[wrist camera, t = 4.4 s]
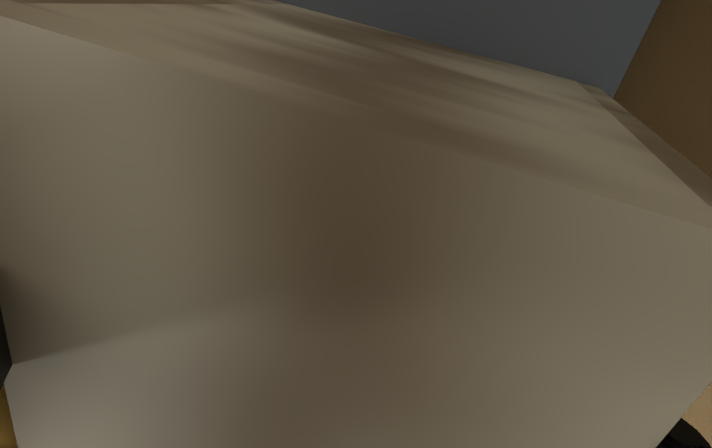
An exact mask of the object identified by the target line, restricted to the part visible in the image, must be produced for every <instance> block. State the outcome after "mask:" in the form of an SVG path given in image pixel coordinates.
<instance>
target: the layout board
mask: <svg viewBox="0 0 712 448" xmlns="http://www.w3.org/2000/svg"><path fill="white" fill-rule="evenodd" d="M275 1H279V2H282V3H286V4H290V5H294V6H297V7H301V8H305V9H309V10H312V11H316V12H320V13H323V14H327V15H331V16H335V17H338V18H342V19H346V20H350V21H353V22H357V23H361V24H365V25H368V26H372V27H376V28H379V29H383V30H387V31H391V32H394V33H398V34H402V35H406V36H409V37H413V38H417V39H420V40H424V41H428V42H432V43H435V44H439V45H443V46H447V47H450V48H454V49H458V50H462V51H465V52H469V53H473V54H476V55H480V56H484V57H488V58H491V59H495V60H499V61H503V62H506V63H510V64H514V65H518V66H521V67H525V68H529V69H532V70H536V71H540V72H544V73H547V74H551V75H555V76H559V77H562V78H566V79H570V80H574V81H577V82H581V83H585V84H588V85H592V86H596V87H599V88H600V89H601V90H602V91H604V92H605V93H606V94H607V95H609V96H610V97H611V98H612V99H613V98H614V96H615V94H616V92H617V90H618V88H619V86H620V84H621V81H622V79H623V77H624V75H625V73H626V71H627V69H628V67H629V65H630V63H631V61H632V59H633V57H634V55H635V53H636V51H637V49H638V47H639V45H640V43H641V41H642V39H643V37H644V35H645V32H646V30H647V28H648V26H649V24H650V22H651V20H652V18H653V16H654V14H655V12H656V10H657V8H658V6H659V4H660V2H661V0H275Z"/></svg>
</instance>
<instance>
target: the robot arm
mask: <svg viewBox="0 0 712 448" xmlns="http://www.w3.org/2000/svg"><path fill="white" fill-rule="evenodd" d="M11 367H12V360H11V356H10V351H9V346H8V341H7V336H6V331H5V326H4V321H3V316H2V311H1V306H0V389H1V387H2V385H3V383H4V381H5V379H6V377H7V375H8V373H9V371H10V369H11ZM656 448H711V446H710V445H709V443H708V442H707V441H706V440H705V439H704V437H703V436H702V435H701V434H700V433H699V432H698V431H697V430H696V429H695V428H694V427H692V426H691V425H690V424H689V423H687V422H686V421H685V420H683V419H682V418H680V420H679V421H678V422H677V423H676V424H675V425H674V427H673V428H672V429H671V430H670V431H669V433H668V434H667V435H666V436H665V437H664V438H663V440H662V441H661V442H660V443H659V444H658V445H657V447H656Z"/></svg>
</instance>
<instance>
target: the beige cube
mask: <svg viewBox="0 0 712 448" xmlns="http://www.w3.org/2000/svg"><path fill="white" fill-rule="evenodd" d="M0 306H1V311H2V316H3V321H4V326H5V331H6V336H7V341H8V346H9V351H10V356H11V360H12V367H11V369H10V371H9V373H8V375H7V377H6V379H5V381H4V387H5V391H6V396H7V400H8V405H9V409H10V414H11V418H12V423H13V427H14V432H15V436H16V441H17V445H18V448H656V447H657V445H658V444H659V443H660V442H661V441H662V440H663V438H664V437H665V436H666V435H667V434H668V433H669V431H670V430H671V429H672V428H673V427H674V425H675V424H676V423H677V422H678V421H679V420H680V418H681V417H682V416H683V415H684V414H685V412H686V411H687V410H688V409H689V408H690V407H691V405H692V404H693V403H694V402H695V401H696V400H697V398H698V397H699V396H700V395H701V394H702V392H703V391H704V390H705V389H706V388H707V387H708V385H709V384H710V383H711V382H712V178H711V177H710V176H709V175H707V174H706V173H705V172H704V171H702V170H701V169H700V168H699V167H697V166H696V165H695V164H694V163H692V162H691V161H690V160H689V159H687V158H686V157H685V156H684V155H682V154H681V153H680V152H679V151H677V150H676V149H675V148H674V147H672V146H671V145H670V144H669V143H667V142H666V141H665V140H664V139H662V138H661V137H660V136H659V135H657V134H656V133H655V132H654V131H652V130H651V129H650V128H649V127H647V126H646V125H645V124H644V123H642V122H641V121H640V120H639V119H637V118H636V117H635V116H634V115H632V114H631V113H630V112H629V111H627V110H626V109H625V108H624V107H622V106H621V105H620V104H619V103H617V102H616V101H615V100H614V99H612V98H611V97H610V96H609V95H607V94H606V93H605V92H604V91H602V90H601V89H600V88H599V87H596V86H592V85H588V84H585V83H581V82H577V81H574V80H570V79H566V78H562V77H559V76H555V75H551V74H547V73H544V72H540V71H536V70H532V69H529V68H525V67H521V66H518V65H514V64H510V63H506V62H503V61H499V60H495V59H491V58H488V57H484V56H480V55H476V54H473V53H469V52H465V51H462V50H458V49H454V48H450V47H447V46H443V45H439V44H435V43H432V42H428V41H424V40H420V39H417V38H413V37H409V36H406V35H402V34H398V33H394V32H391V31H387V30H383V29H379V28H376V27H372V26H368V25H365V24H361V23H357V22H353V21H350V20H346V19H342V18H338V17H335V16H331V15H327V14H323V13H320V12H316V11H312V10H309V9H305V8H301V7H297V6H294V5H290V4H286V3H282V2H279V1H275V0H0Z"/></svg>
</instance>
